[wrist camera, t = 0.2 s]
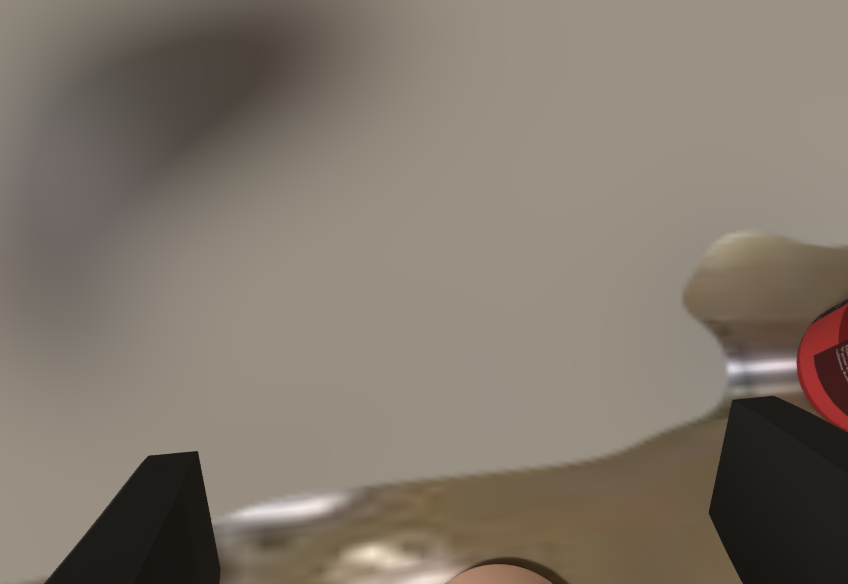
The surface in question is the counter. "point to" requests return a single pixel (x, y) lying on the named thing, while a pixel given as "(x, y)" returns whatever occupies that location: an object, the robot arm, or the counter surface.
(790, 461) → the robot arm
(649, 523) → the counter surface
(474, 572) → the terracotta coaster
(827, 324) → the canned food
